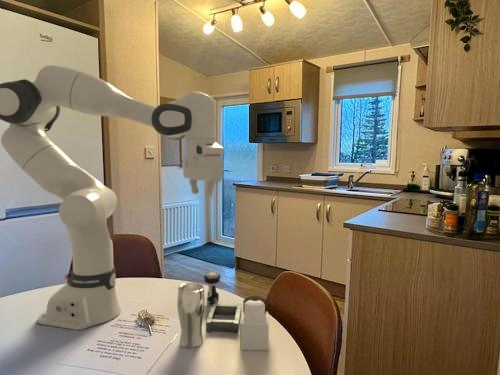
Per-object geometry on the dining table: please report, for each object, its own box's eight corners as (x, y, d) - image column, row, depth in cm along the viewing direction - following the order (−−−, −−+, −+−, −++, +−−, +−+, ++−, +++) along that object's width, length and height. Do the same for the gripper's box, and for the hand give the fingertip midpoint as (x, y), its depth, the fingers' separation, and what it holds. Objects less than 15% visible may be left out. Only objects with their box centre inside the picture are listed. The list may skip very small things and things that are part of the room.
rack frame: (206, 332, 93) (206, 322, 93) (213, 312, 105) (213, 303, 105) (238, 333, 93) (238, 323, 93) (241, 313, 105) (241, 304, 104)
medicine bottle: (241, 335, 92) (242, 292, 91) (267, 335, 92) (268, 293, 91) (240, 350, 85) (240, 304, 84) (268, 351, 85) (269, 305, 84)
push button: (214, 309, 107) (214, 278, 106) (199, 306, 109) (199, 276, 108) (222, 300, 113) (223, 272, 112) (208, 298, 115) (208, 270, 114)
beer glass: (192, 353, 84) (192, 295, 82) (172, 344, 87) (171, 288, 86) (210, 340, 90) (210, 285, 88) (190, 332, 93) (190, 280, 92)
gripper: (177, 149, 107) (178, 192, 108) (206, 148, 90) (207, 199, 91) (196, 149, 110) (196, 191, 112) (227, 148, 93) (227, 198, 95)
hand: (201, 195), depth 101 cm, fingers open, 8 cm apart
